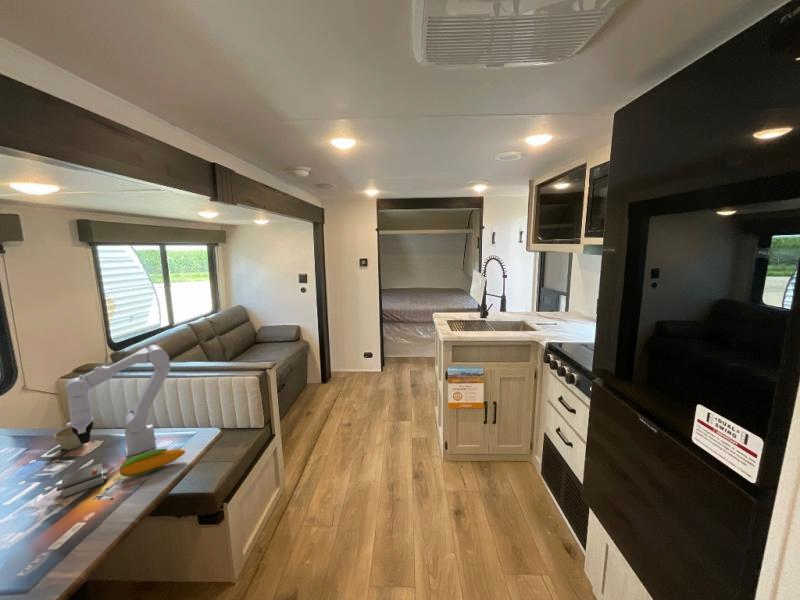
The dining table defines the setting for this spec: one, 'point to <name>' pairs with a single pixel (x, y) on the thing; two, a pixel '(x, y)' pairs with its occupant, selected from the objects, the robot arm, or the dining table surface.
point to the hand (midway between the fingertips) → (85, 442)
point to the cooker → (83, 485)
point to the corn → (149, 462)
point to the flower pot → (67, 439)
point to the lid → (81, 475)
